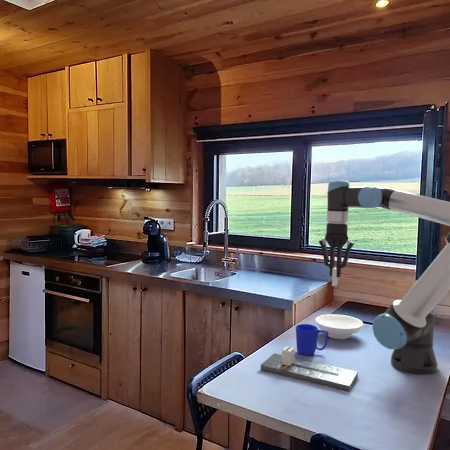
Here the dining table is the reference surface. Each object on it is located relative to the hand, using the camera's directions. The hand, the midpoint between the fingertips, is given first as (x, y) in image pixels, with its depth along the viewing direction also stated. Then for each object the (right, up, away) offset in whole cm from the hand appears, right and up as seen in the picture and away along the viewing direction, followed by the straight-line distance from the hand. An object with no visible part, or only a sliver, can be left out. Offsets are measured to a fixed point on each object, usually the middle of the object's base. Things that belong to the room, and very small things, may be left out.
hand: (334, 285), depth 160 cm
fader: (-19, -25, -12) cm, 34 cm away
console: (-13, -28, -16) cm, 34 cm away
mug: (-8, -26, +2) cm, 28 cm away
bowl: (+7, -25, +21) cm, 33 cm away
